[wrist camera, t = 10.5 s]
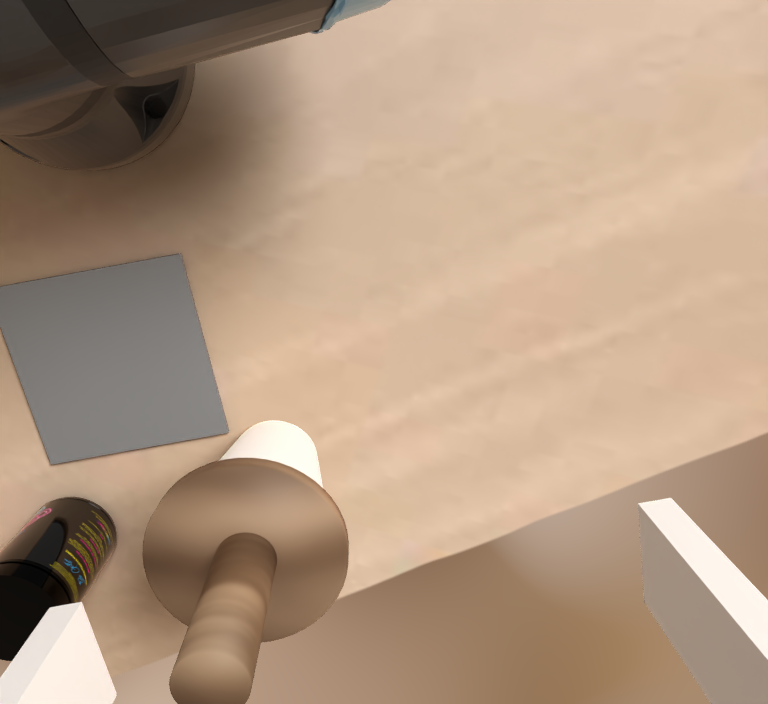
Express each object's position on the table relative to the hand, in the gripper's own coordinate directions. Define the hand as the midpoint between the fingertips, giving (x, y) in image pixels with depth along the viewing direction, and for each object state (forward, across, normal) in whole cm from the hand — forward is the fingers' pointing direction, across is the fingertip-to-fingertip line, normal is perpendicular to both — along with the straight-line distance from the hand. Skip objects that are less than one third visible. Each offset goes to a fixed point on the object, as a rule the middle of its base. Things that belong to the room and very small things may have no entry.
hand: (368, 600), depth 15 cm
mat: (+33, -19, -1) cm, 38 cm away
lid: (+21, -9, -11) cm, 25 cm away
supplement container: (+33, -26, -14) cm, 44 cm away
